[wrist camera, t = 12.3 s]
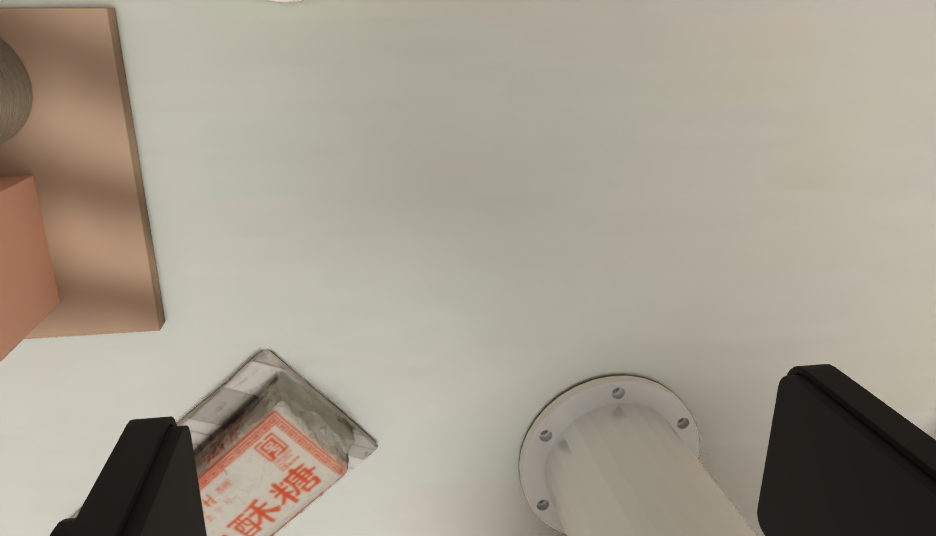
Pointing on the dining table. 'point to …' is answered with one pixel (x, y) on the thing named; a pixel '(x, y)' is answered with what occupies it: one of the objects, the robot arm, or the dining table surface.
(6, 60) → the tin
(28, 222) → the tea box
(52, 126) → the shelf board
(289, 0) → the knuckle duster
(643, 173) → the dining table surface
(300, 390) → the packaged product
